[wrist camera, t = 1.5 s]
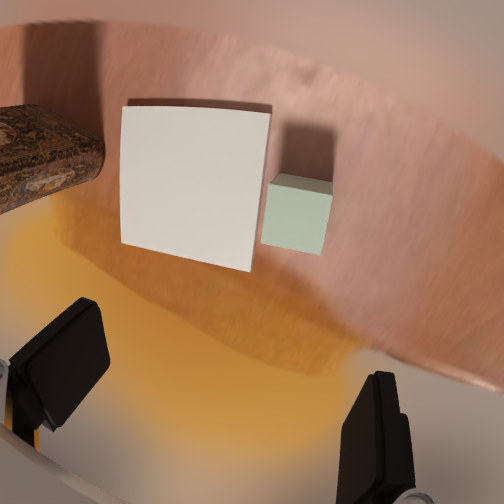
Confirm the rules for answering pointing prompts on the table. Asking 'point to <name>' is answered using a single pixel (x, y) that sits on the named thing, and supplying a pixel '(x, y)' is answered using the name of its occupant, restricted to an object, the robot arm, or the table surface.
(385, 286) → the table surface
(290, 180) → the block
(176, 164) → the pale board
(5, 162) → the book
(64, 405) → the robot arm
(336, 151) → the table surface
